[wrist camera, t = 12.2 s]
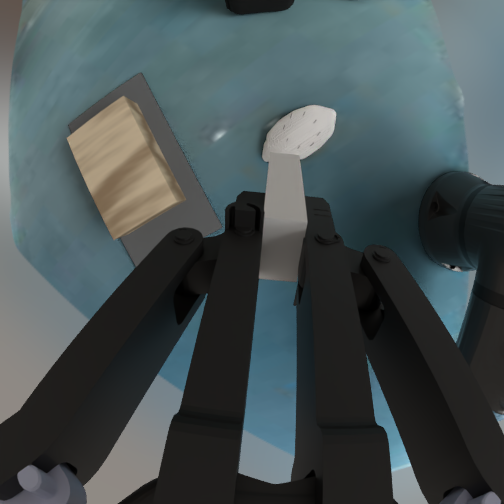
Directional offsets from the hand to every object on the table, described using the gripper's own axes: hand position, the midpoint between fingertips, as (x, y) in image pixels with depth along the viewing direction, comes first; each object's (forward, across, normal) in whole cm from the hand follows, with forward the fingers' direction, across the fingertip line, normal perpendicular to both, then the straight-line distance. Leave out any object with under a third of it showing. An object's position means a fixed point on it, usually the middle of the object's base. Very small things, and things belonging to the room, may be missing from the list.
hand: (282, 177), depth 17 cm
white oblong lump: (+27, -3, +5) cm, 28 cm away
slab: (+18, +16, +15) cm, 29 cm away
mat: (+24, +19, +11) cm, 33 cm away
